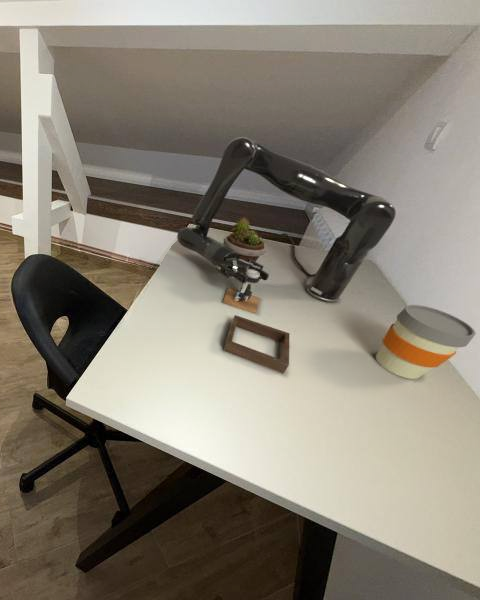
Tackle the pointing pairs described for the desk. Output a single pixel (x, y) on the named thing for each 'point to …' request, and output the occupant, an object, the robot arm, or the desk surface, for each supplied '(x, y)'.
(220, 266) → the robot arm
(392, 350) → the reusable coffee cup
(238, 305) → the cork mat
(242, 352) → the walnut frame
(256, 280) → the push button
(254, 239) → the flowerpot
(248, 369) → the desk surface
